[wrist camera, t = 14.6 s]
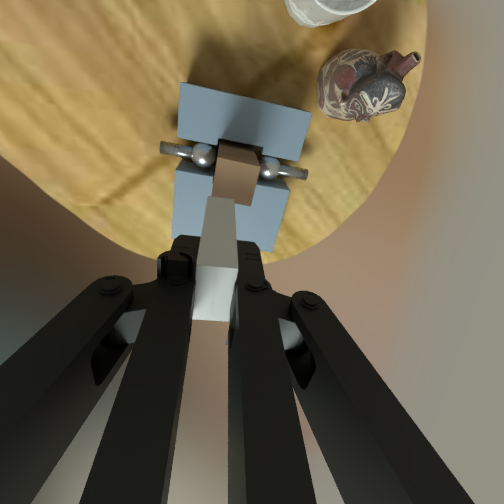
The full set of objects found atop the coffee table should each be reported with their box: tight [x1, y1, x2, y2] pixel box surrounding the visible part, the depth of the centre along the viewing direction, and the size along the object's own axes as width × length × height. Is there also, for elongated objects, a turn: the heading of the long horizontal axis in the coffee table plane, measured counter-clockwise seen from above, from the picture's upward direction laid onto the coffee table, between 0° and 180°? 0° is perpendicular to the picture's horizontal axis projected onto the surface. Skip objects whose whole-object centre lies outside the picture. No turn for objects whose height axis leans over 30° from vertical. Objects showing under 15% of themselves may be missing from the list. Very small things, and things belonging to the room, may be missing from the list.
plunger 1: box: [160, 141, 216, 168], centre depth 32 cm, size 3×6×3 cm, turn 79°
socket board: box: [172, 82, 312, 252], centre depth 34 cm, size 18×14×5 cm
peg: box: [211, 138, 260, 207], centre depth 30 cm, size 4×4×12 cm
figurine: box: [317, 48, 421, 123], centre depth 27 cm, size 7×7×12 cm
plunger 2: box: [259, 155, 308, 180], centre depth 34 cm, size 3×6×3 cm, turn 79°
